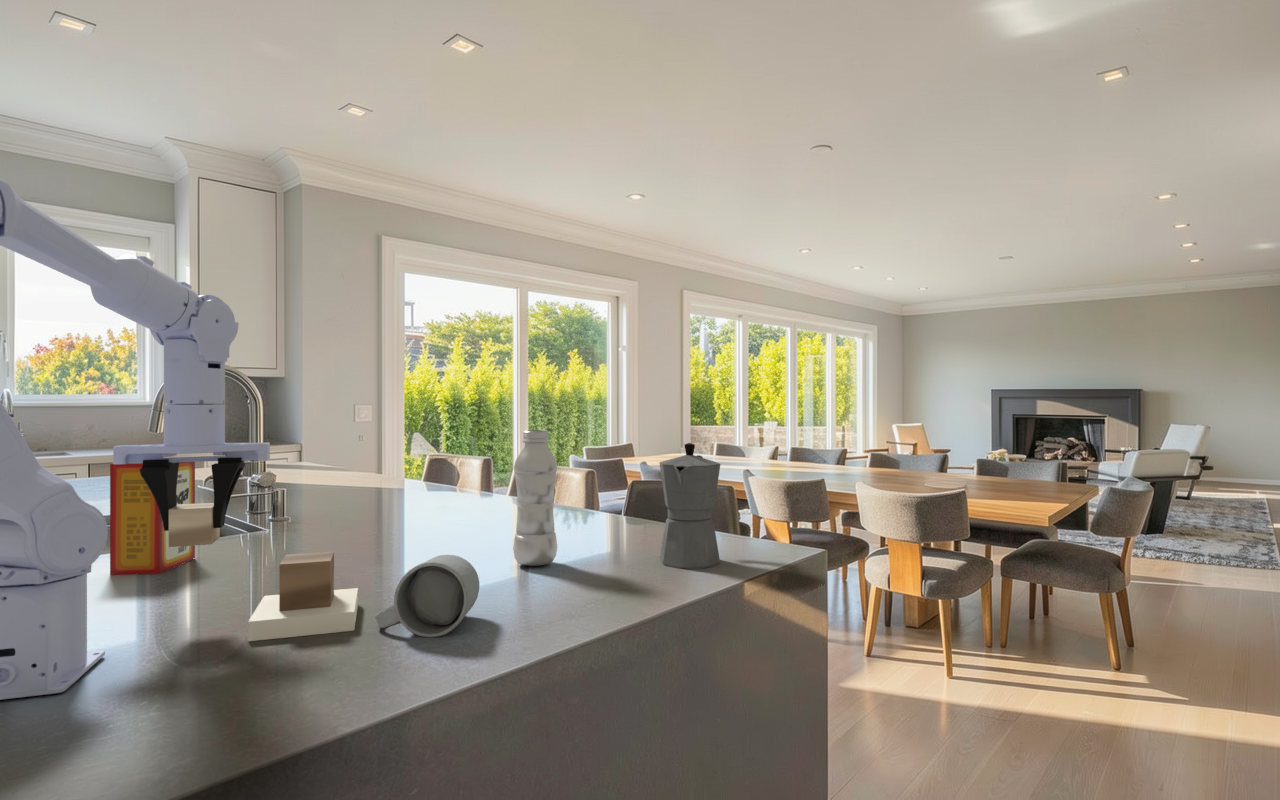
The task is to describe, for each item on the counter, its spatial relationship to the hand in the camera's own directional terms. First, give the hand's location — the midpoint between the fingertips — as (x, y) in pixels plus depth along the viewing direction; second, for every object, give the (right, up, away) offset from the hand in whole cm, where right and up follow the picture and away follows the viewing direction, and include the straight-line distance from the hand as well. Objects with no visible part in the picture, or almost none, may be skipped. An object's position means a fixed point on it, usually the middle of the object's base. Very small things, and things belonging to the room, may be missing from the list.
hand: (194, 527), depth 78 cm
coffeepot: (+57, -11, +30) cm, 65 cm away
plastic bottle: (+33, -11, +27) cm, 44 cm away
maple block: (0, -2, 0) cm, 2 cm away
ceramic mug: (+26, -11, -1) cm, 28 cm away
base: (+12, -10, 0) cm, 16 cm away
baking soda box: (-22, -11, +26) cm, 36 cm away
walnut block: (+12, -8, 0) cm, 15 cm away
